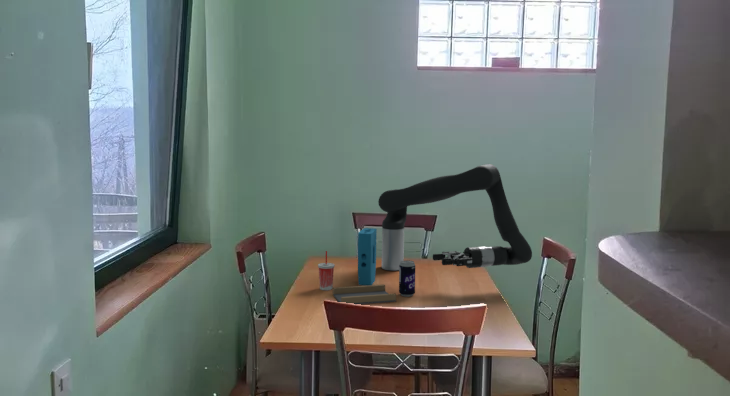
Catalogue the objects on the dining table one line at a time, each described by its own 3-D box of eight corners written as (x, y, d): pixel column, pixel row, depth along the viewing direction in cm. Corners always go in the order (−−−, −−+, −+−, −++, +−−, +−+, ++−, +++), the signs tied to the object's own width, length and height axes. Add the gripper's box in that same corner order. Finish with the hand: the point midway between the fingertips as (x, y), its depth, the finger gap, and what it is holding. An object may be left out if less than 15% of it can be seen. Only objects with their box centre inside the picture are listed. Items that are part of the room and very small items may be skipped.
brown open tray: (332, 294, 215) (332, 287, 215) (384, 291, 220) (384, 284, 220) (341, 305, 202) (341, 297, 202) (396, 301, 208) (396, 294, 207)
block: (370, 286, 227) (370, 233, 224) (357, 286, 228) (357, 233, 225) (376, 279, 238) (376, 228, 236) (363, 278, 239) (364, 228, 237)
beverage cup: (327, 285, 228) (327, 248, 226) (337, 288, 223) (338, 251, 222) (314, 288, 223) (314, 250, 222) (325, 291, 219) (325, 253, 218)
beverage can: (404, 297, 212) (404, 264, 211) (395, 293, 217) (396, 260, 216) (417, 296, 215) (418, 262, 214) (409, 292, 220) (410, 259, 219)
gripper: (470, 243, 228) (430, 245, 224) (488, 250, 215) (445, 253, 210) (470, 263, 229) (429, 265, 225) (487, 271, 216) (445, 274, 211)
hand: (437, 259), depth 218 cm, fingers open, 8 cm apart
